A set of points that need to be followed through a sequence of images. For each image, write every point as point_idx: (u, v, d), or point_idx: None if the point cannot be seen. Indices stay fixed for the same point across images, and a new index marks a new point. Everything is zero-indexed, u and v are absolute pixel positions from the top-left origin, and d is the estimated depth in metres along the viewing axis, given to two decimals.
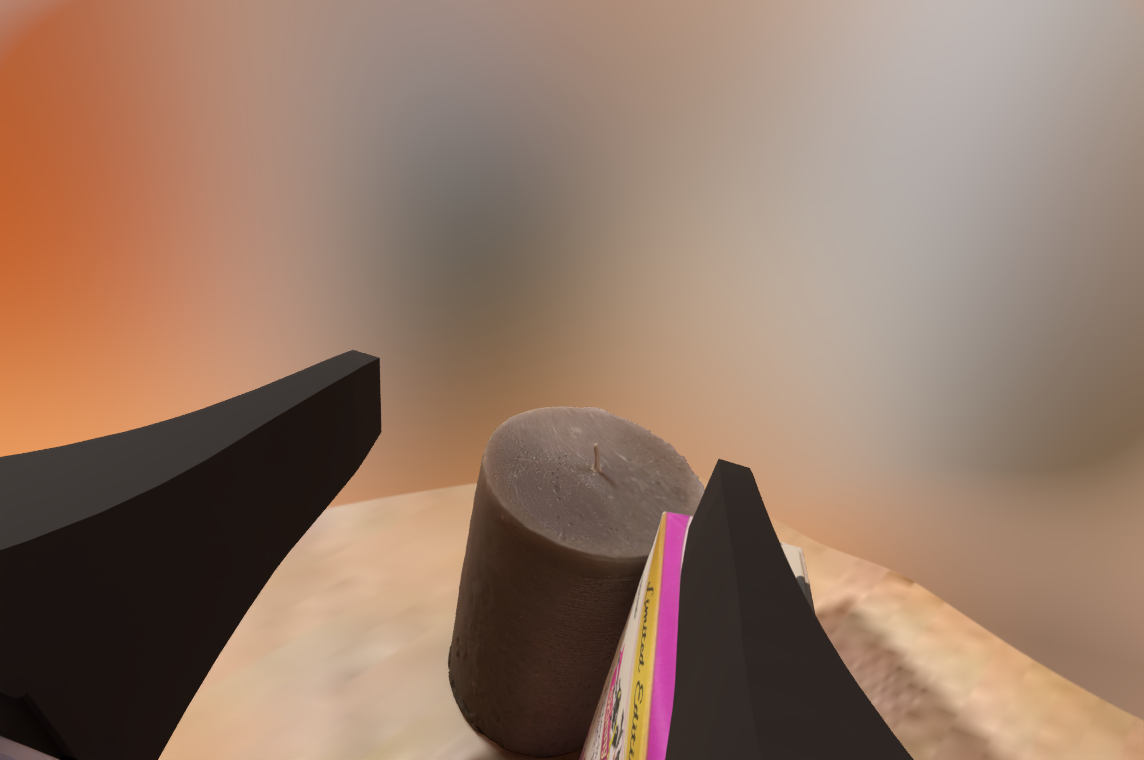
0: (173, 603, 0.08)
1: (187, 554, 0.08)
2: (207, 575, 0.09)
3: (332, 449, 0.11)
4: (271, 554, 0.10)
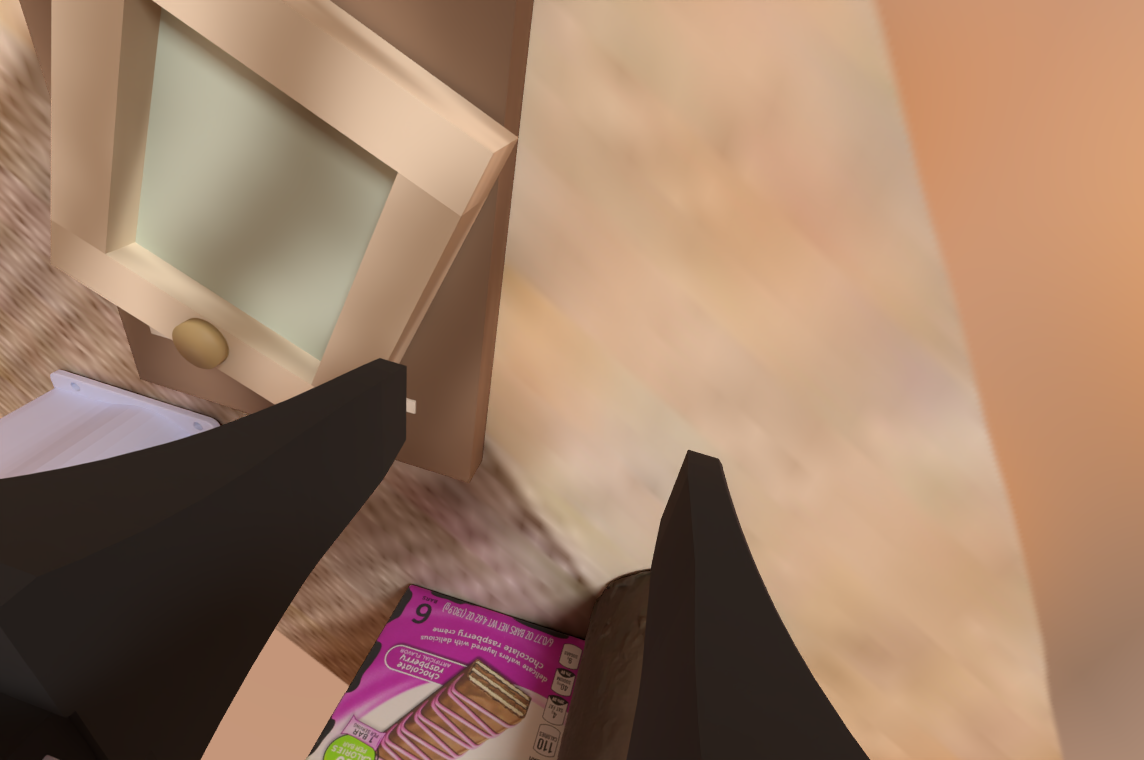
0: (211, 617, 0.08)
1: (225, 567, 0.08)
2: (243, 588, 0.09)
3: (361, 458, 0.11)
4: (302, 564, 0.10)
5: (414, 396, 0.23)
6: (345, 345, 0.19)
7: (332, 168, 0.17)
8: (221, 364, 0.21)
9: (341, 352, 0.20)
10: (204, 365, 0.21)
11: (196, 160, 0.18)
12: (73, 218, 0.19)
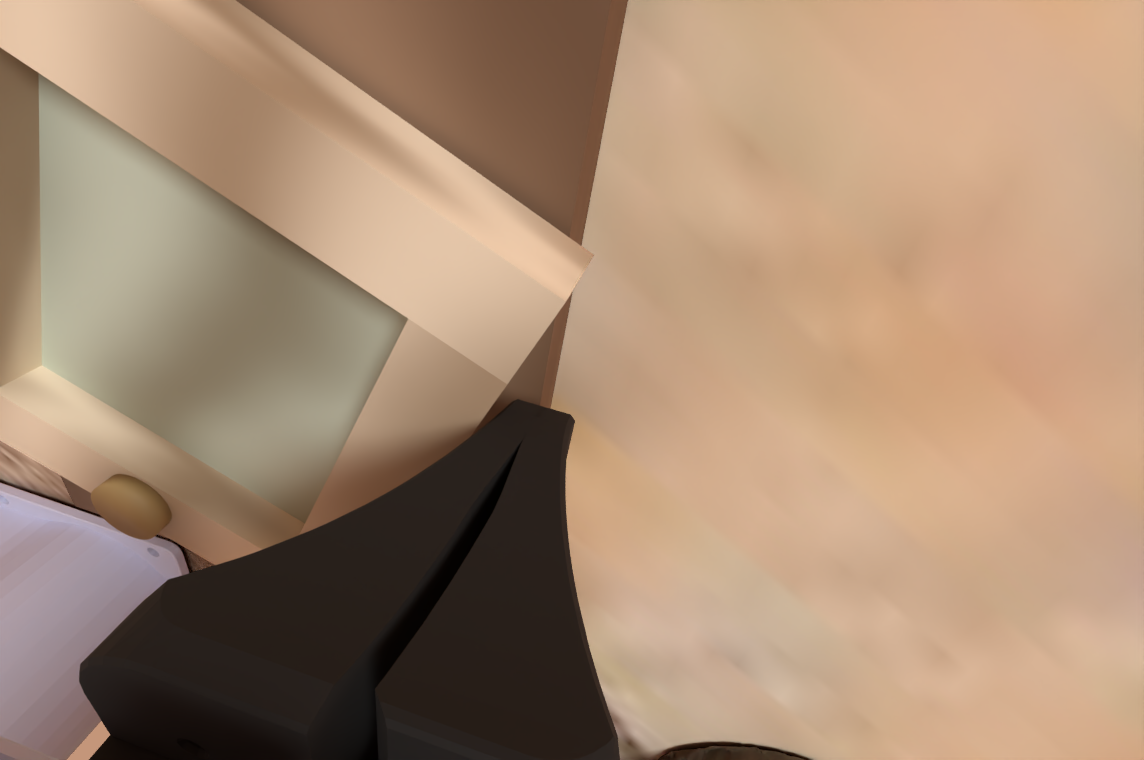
0: None
1: None
2: None
3: None
4: None
5: None
6: None
7: (308, 291, 0.12)
8: (163, 528, 0.16)
9: None
10: (137, 535, 0.15)
11: (112, 270, 0.13)
12: None
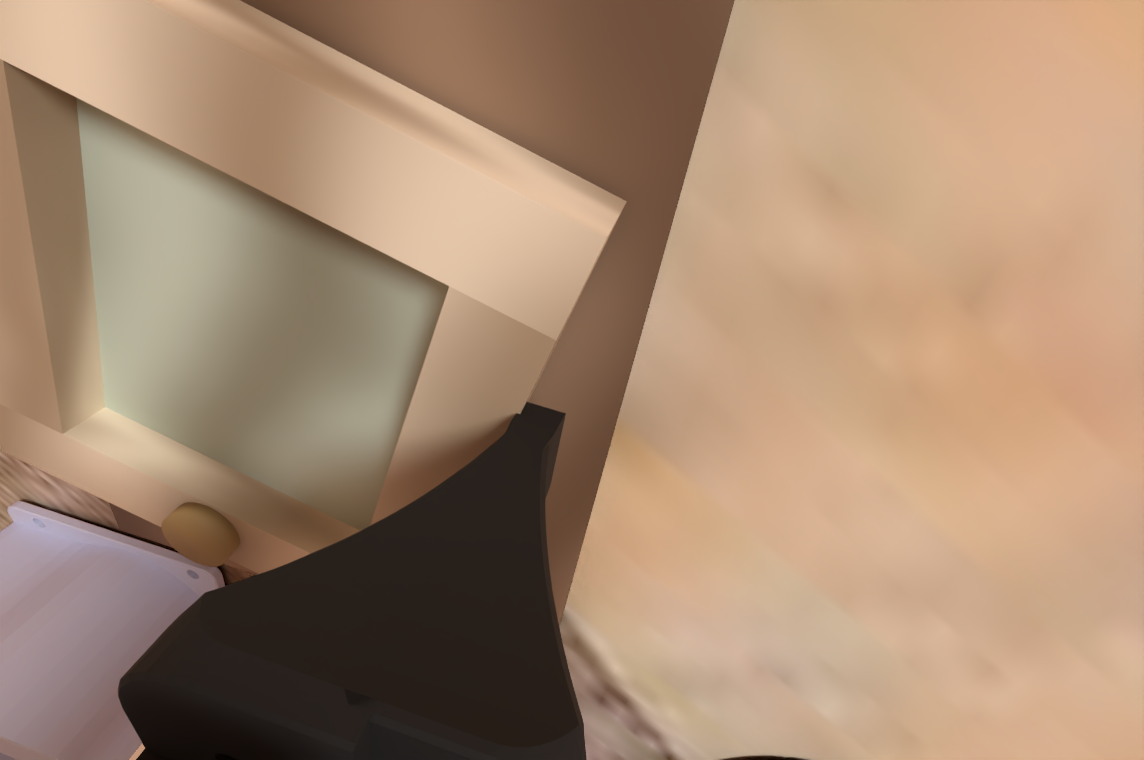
0: None
1: None
2: None
3: None
4: None
5: None
6: None
7: (348, 285, 0.12)
8: (232, 554, 0.16)
9: None
10: (209, 562, 0.15)
11: (161, 296, 0.13)
12: (14, 394, 0.14)
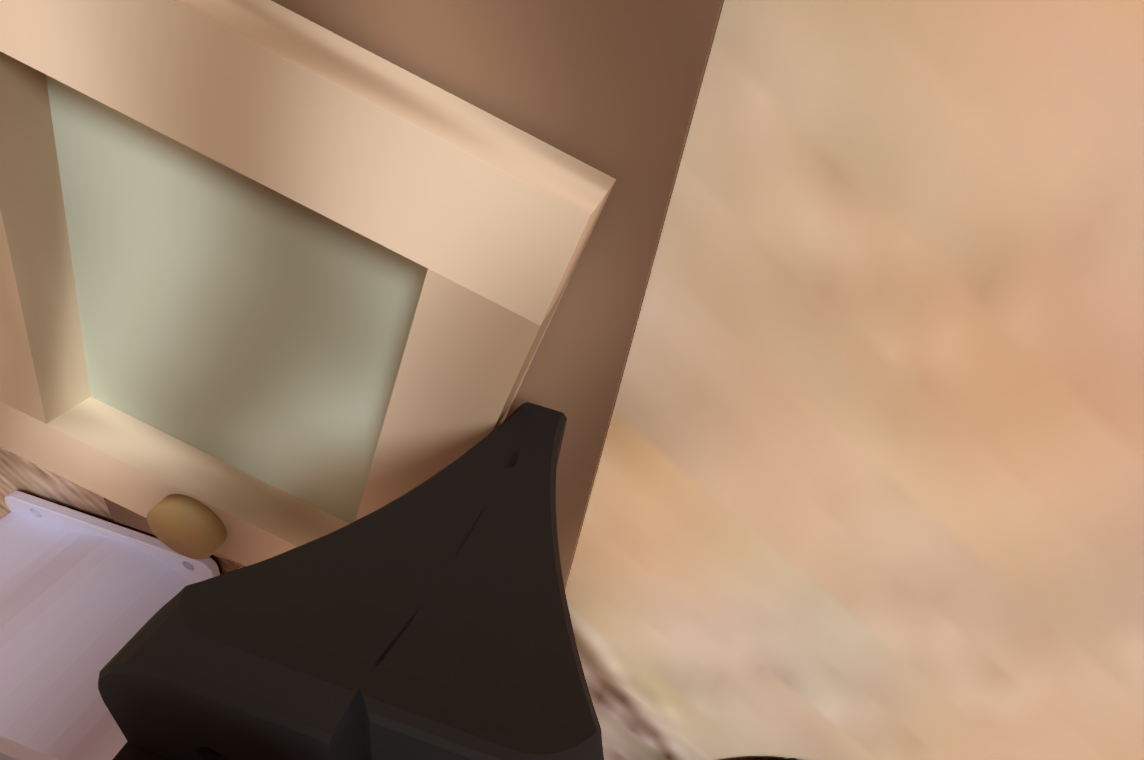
0: None
1: None
2: None
3: None
4: None
5: None
6: None
7: (328, 269, 0.11)
8: (220, 547, 0.15)
9: None
10: (196, 555, 0.15)
11: (141, 282, 0.13)
12: None
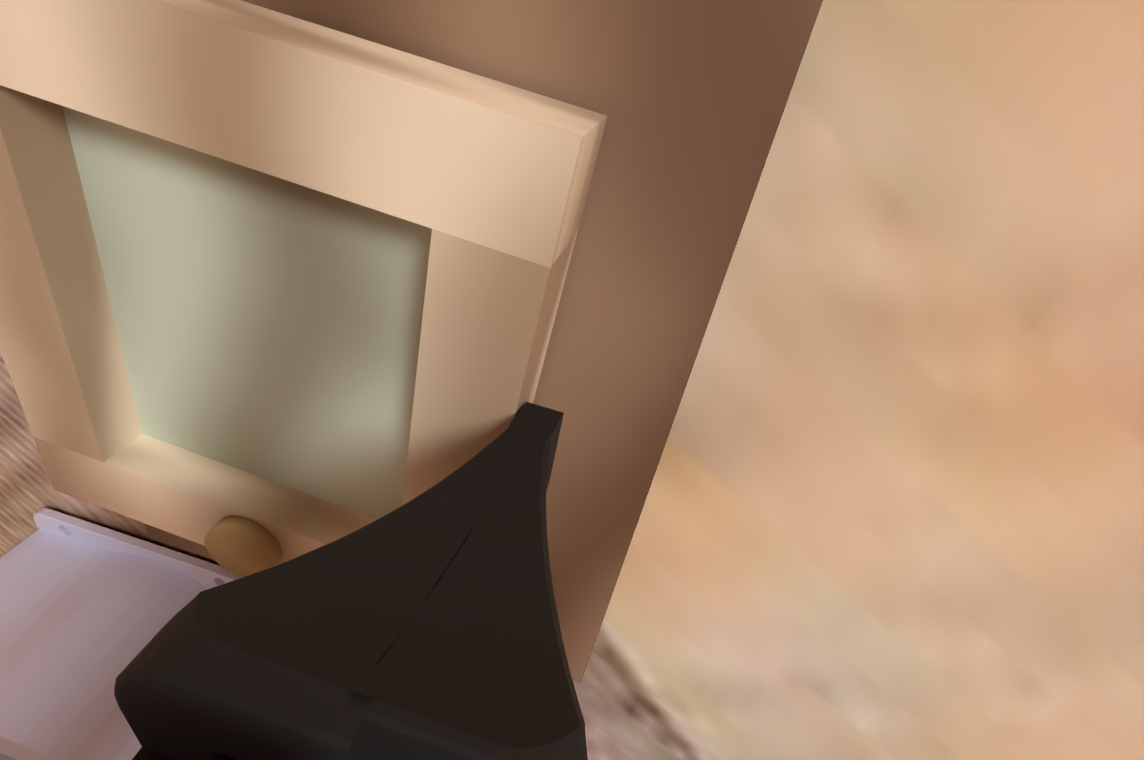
0: None
1: None
2: None
3: None
4: None
5: None
6: None
7: (342, 260, 0.11)
8: None
9: None
10: None
11: (173, 308, 0.13)
12: (55, 428, 0.15)
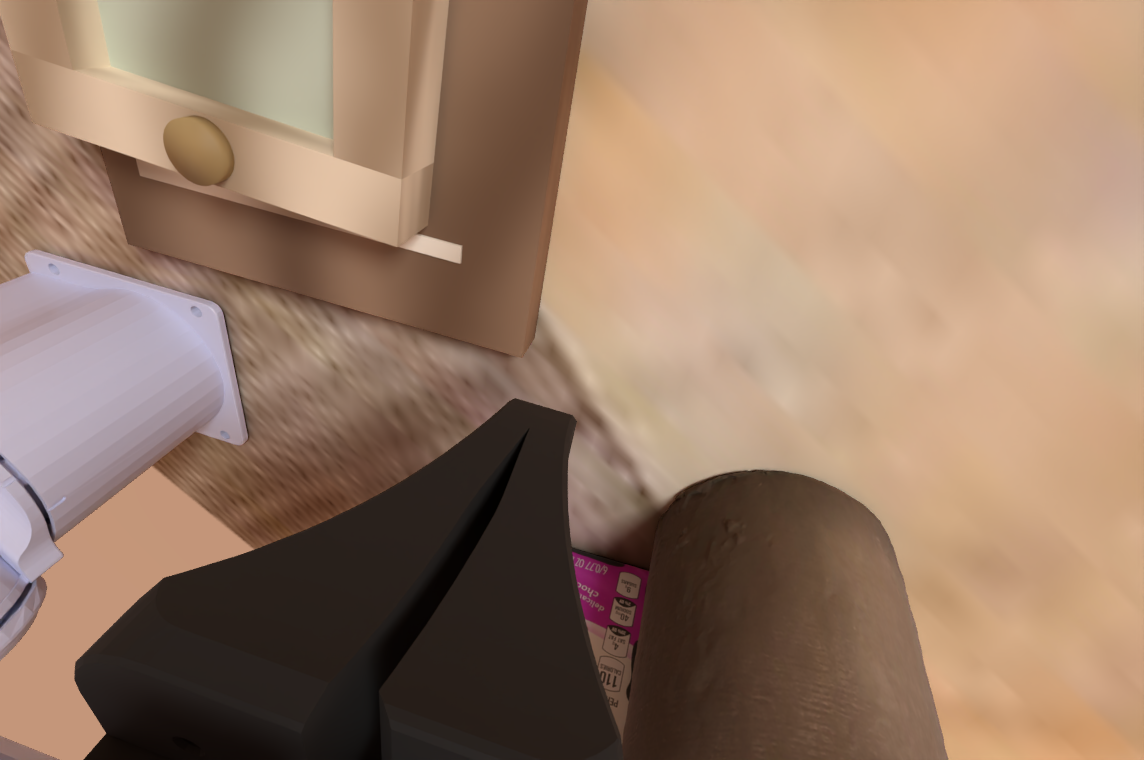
0: None
1: None
2: None
3: None
4: None
5: (461, 240, 0.19)
6: (353, 59, 0.14)
7: None
8: (231, 180, 0.17)
9: (352, 75, 0.15)
10: (209, 178, 0.17)
11: None
12: (28, 32, 0.16)
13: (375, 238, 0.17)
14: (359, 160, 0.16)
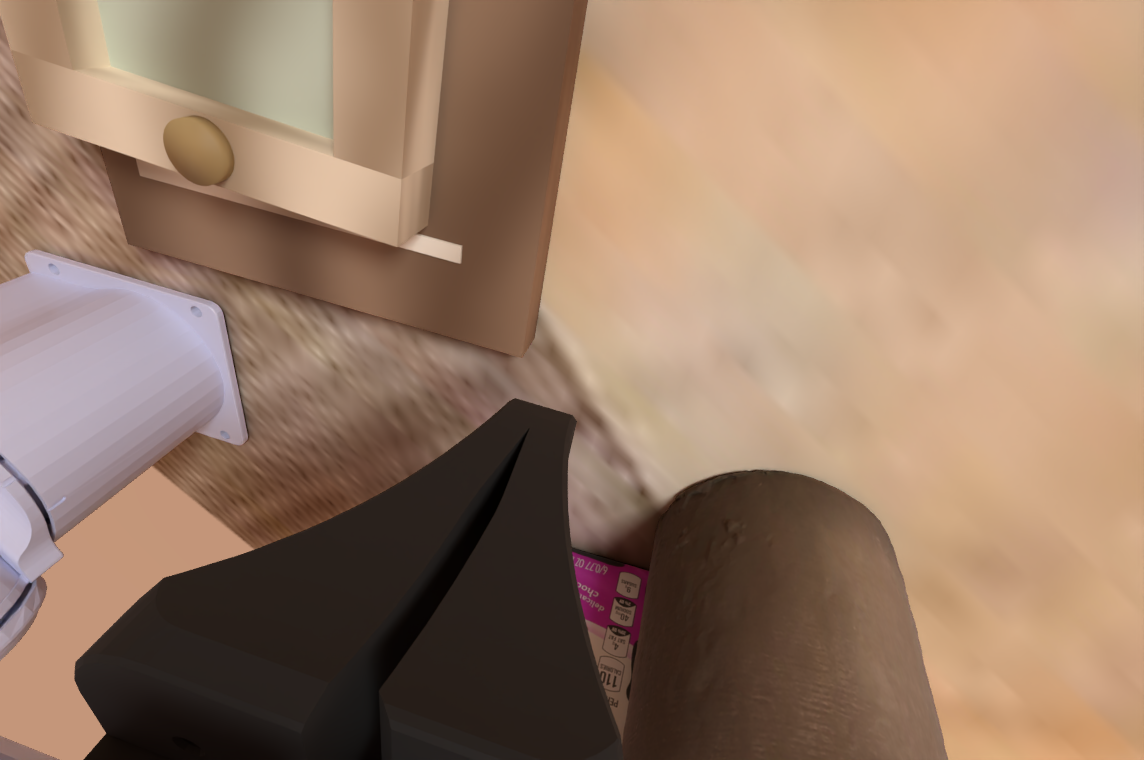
0: None
1: None
2: None
3: None
4: None
5: (461, 240, 0.19)
6: (353, 59, 0.14)
7: None
8: (231, 180, 0.17)
9: (352, 75, 0.15)
10: (209, 178, 0.17)
11: None
12: (28, 32, 0.16)
13: (375, 238, 0.17)
14: (359, 160, 0.16)
